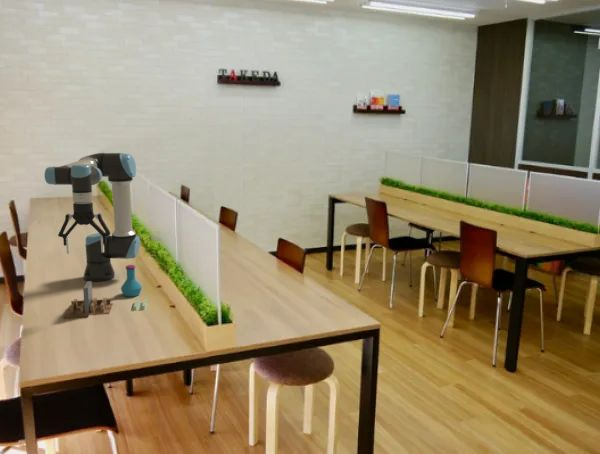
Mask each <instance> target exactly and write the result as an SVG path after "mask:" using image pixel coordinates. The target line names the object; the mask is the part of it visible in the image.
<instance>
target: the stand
mask: <svg viewBox="0 0 600 454" xmlns="http://www.w3.org/2000/svg"><path fill="white" fill-rule="evenodd" d="M148 303H149V302H148V301H147V299H146V298H143V300H142V301H139V299H138V298H137V299H135V300H134V302H133V305H132V309H131V312H134V311H136V312H137V311H147V309H148V305H149V304H148Z"/></svg>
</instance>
